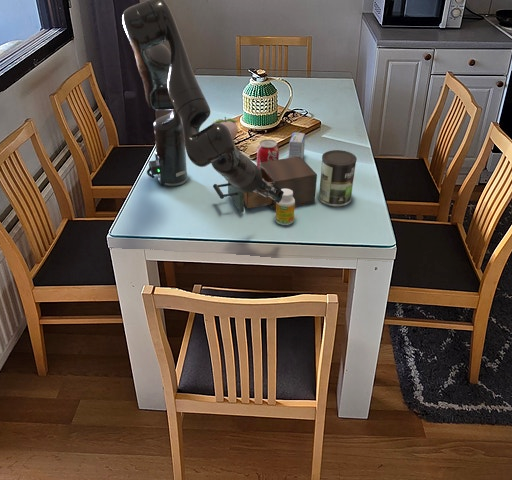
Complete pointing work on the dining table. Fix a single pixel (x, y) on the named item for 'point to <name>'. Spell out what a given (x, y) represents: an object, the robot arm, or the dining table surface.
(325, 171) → the coffee can
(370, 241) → the dining table surface
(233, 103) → the dining table surface
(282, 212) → the supplement bottle
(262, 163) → the cabinet
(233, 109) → the dining table surface
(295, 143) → the medicine box
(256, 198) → the drawer
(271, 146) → the soda can
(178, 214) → the dining table surface
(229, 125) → the decorative fruit
